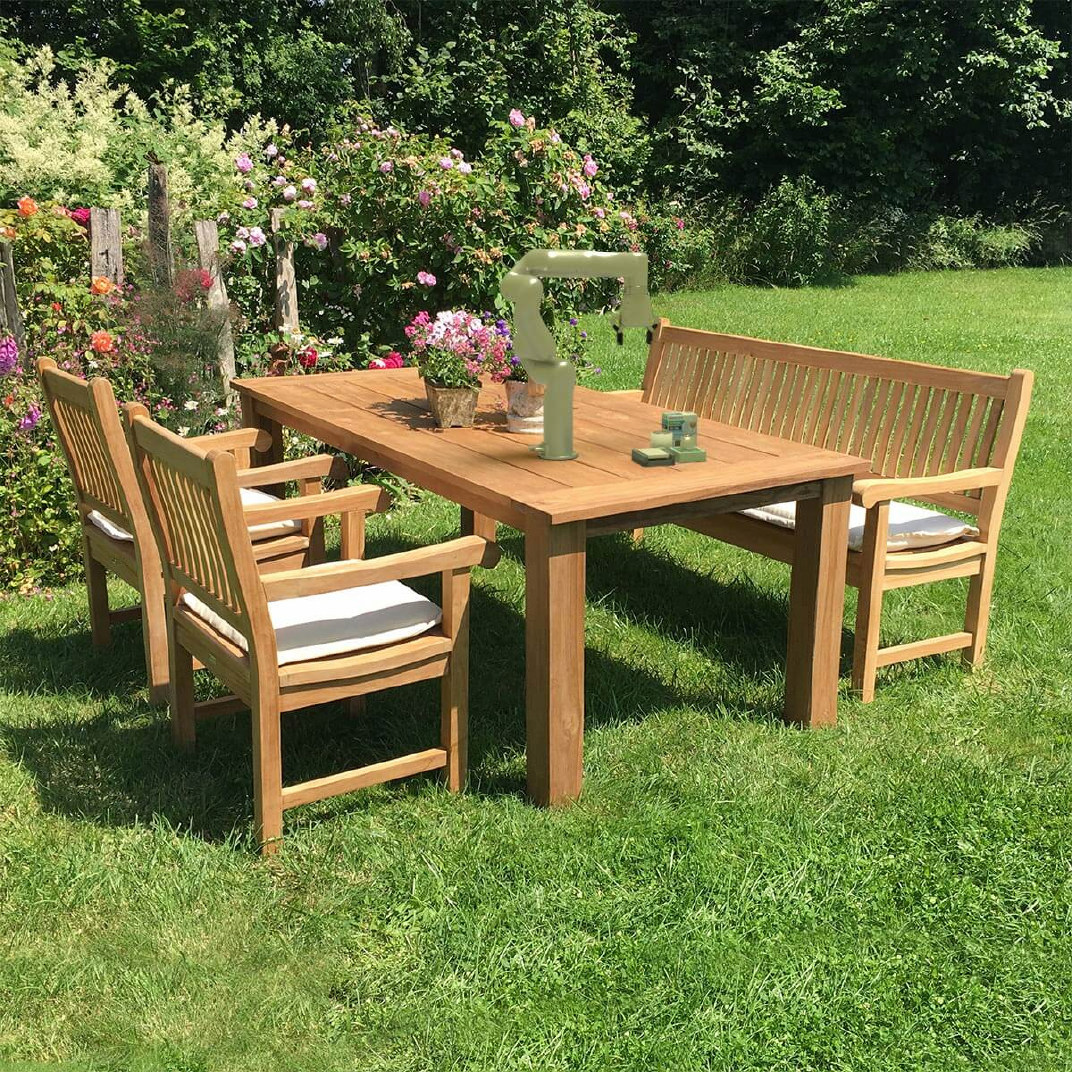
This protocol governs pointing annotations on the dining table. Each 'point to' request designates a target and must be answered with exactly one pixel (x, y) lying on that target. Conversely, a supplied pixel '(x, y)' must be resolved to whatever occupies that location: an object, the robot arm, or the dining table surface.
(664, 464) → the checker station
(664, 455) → the checker pad
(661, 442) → the ceramic cup
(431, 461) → the dining table surface
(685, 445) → the cell
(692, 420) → the light bulb box
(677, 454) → the tray
